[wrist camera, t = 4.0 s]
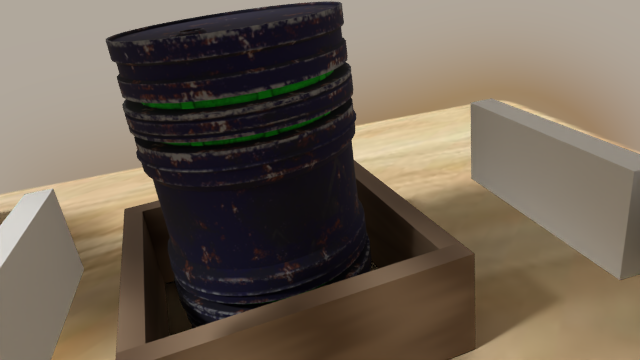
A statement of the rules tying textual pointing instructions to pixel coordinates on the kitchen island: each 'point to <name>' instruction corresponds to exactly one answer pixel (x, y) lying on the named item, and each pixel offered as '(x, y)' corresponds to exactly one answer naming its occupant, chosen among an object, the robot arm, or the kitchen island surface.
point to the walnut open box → (315, 297)
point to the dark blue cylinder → (248, 152)
